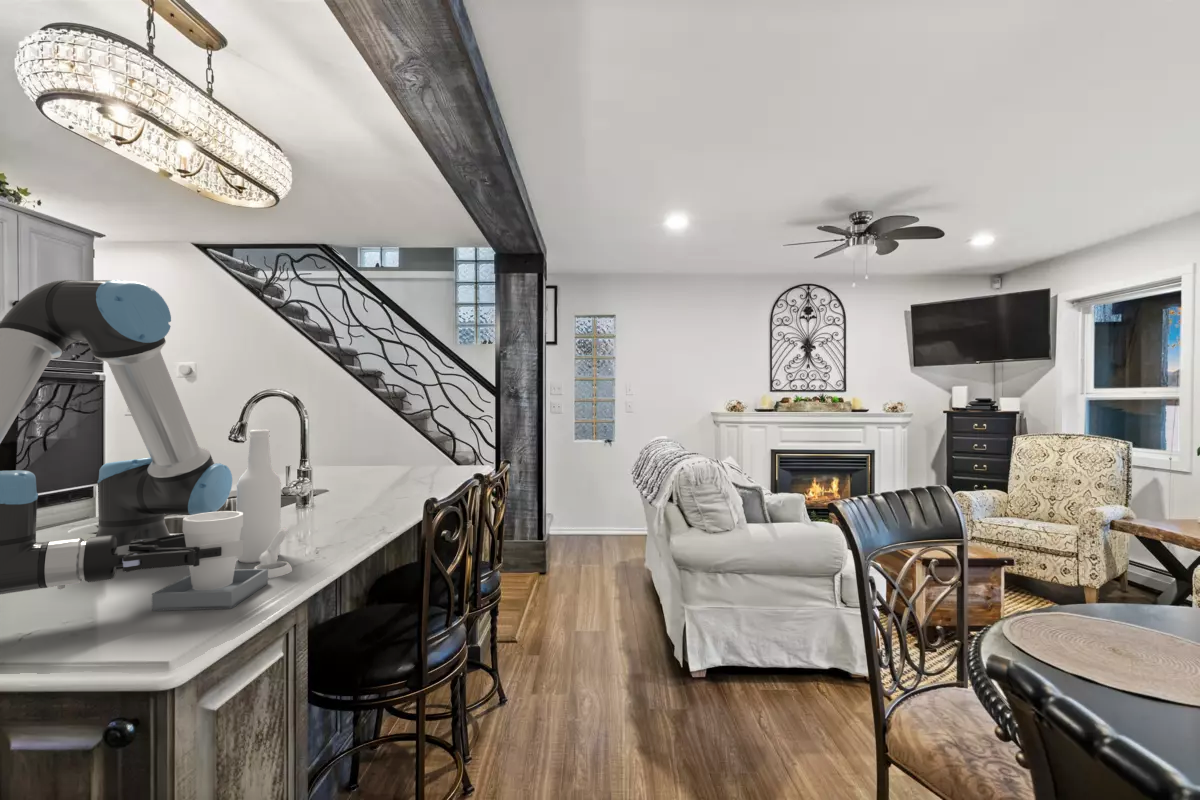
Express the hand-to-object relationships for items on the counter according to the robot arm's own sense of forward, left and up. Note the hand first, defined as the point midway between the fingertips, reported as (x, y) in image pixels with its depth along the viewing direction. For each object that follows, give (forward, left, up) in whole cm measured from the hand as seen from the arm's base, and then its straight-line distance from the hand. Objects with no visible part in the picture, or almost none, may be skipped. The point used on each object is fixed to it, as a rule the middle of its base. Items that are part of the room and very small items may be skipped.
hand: (241, 541), depth 107 cm
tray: (+2, -4, -10) cm, 11 cm away
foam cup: (+2, -4, -8) cm, 9 cm away
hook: (-12, 0, -10) cm, 16 cm away
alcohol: (-23, -8, -10) cm, 26 cm away
